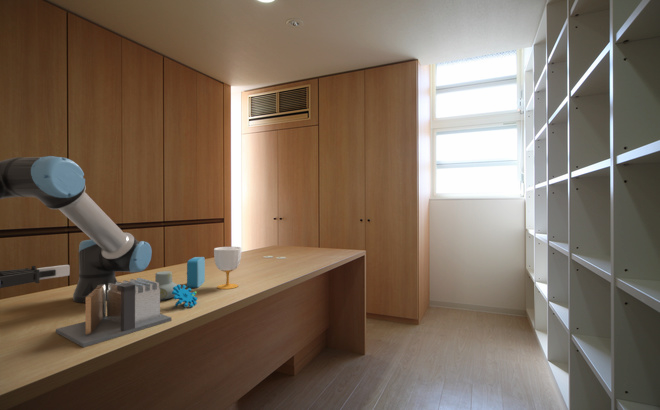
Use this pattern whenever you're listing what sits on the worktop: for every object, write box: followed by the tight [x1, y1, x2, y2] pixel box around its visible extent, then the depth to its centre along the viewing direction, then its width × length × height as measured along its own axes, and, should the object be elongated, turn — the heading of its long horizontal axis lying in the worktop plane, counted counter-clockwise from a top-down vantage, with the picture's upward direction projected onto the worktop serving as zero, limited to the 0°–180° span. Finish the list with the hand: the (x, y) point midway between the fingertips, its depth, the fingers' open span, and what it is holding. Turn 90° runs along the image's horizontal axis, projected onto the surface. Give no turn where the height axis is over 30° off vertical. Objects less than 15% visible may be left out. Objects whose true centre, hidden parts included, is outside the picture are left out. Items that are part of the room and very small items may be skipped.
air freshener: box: [154, 270, 178, 301], centre depth 132 cm, size 11×8×10 cm
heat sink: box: [106, 277, 161, 324], centre depth 106 cm, size 12×10×11 cm
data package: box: [186, 256, 206, 289], centre depth 153 cm, size 12×4×12 cm, turn 6°
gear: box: [172, 283, 198, 308], centre depth 123 cm, size 11×6×10 cm
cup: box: [213, 246, 242, 290], centre depth 151 cm, size 12×12×17 cm
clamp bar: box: [85, 284, 107, 334], centre depth 99 cm, size 15×2×10 cm, turn 22°
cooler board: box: [55, 283, 172, 348], centre depth 102 cm, size 18×24×14 cm
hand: (68, 270), depth 91 cm, fingers closed
